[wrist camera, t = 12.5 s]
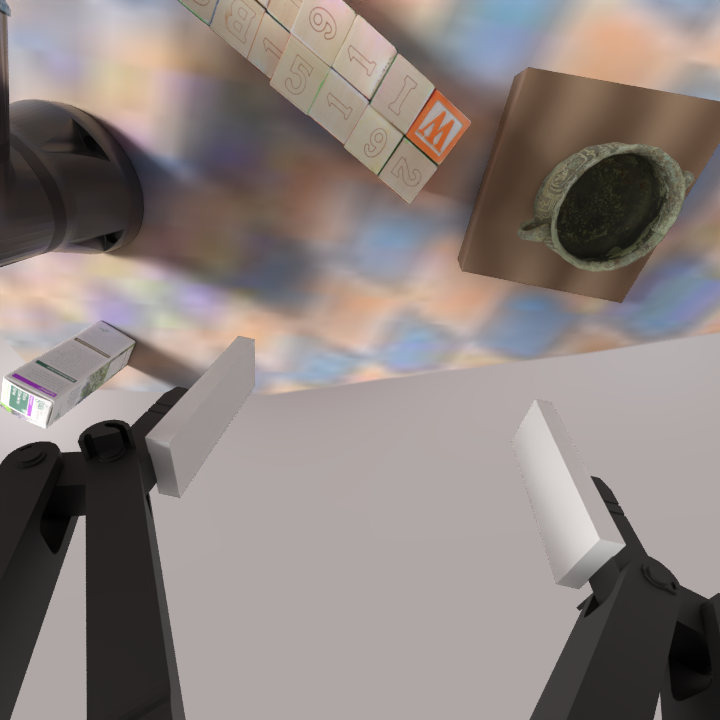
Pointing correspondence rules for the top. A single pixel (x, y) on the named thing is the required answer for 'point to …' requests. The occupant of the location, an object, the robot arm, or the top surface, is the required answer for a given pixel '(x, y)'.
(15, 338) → the top surface
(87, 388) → the syrup box
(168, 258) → the top surface
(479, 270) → the walnut block
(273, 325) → the top surface
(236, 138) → the top surface
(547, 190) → the vessel
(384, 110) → the stack of blocks
